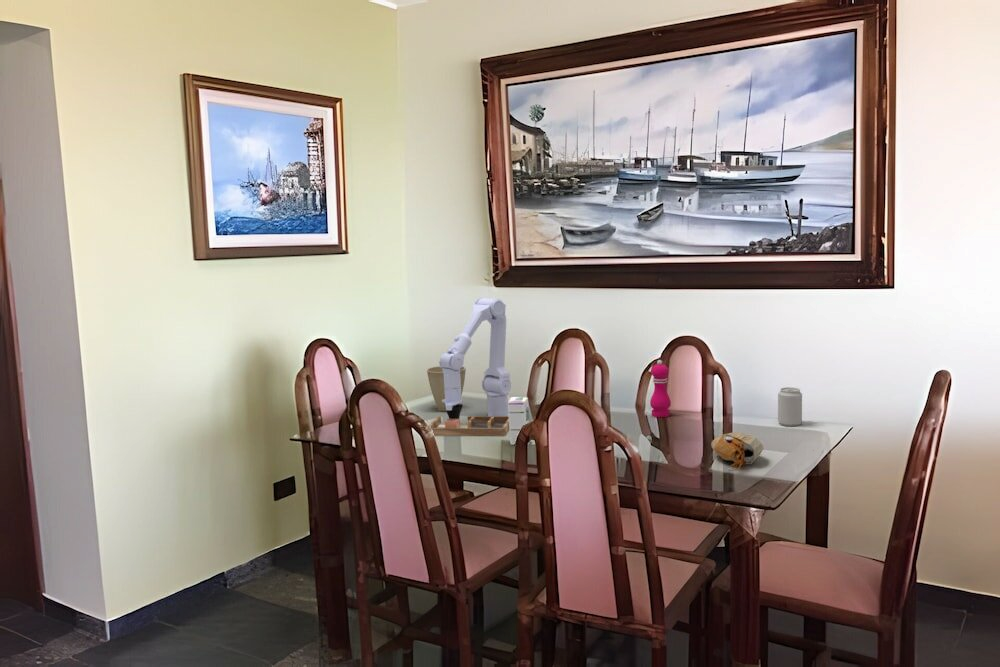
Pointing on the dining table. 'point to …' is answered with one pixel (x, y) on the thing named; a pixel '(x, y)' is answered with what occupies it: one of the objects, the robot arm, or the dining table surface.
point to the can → (790, 406)
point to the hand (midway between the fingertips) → (454, 426)
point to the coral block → (452, 423)
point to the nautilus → (737, 448)
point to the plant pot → (441, 384)
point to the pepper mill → (660, 391)
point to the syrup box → (517, 415)
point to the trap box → (474, 426)
